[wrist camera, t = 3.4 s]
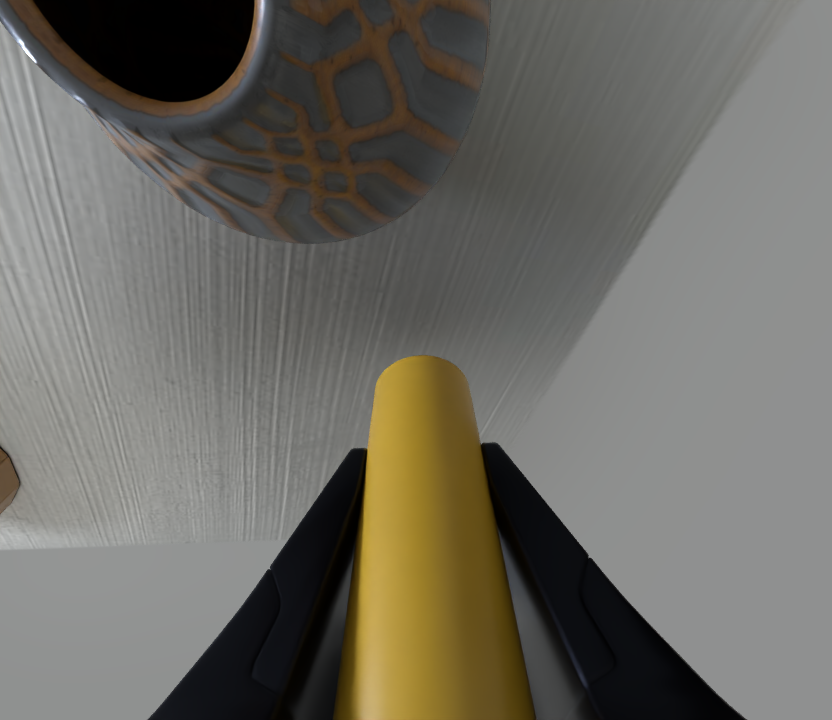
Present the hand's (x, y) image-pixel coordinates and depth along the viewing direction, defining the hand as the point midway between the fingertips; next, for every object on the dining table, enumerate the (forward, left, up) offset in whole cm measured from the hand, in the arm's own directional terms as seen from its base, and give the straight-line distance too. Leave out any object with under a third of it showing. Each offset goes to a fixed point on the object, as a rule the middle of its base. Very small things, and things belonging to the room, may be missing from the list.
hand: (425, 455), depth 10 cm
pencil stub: (0, 0, -2) cm, 2 cm away
